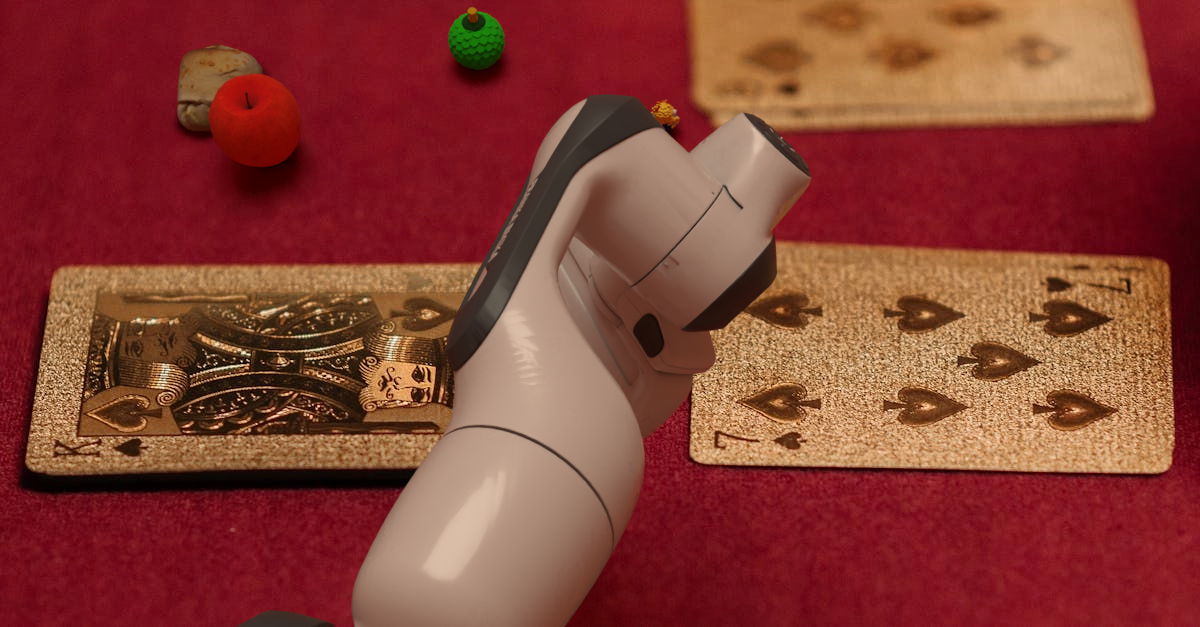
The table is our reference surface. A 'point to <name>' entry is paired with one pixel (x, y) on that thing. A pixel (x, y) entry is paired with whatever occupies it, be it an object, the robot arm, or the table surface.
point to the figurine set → (665, 115)
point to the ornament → (476, 40)
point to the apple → (255, 120)
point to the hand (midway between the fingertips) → (540, 379)
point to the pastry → (208, 81)
